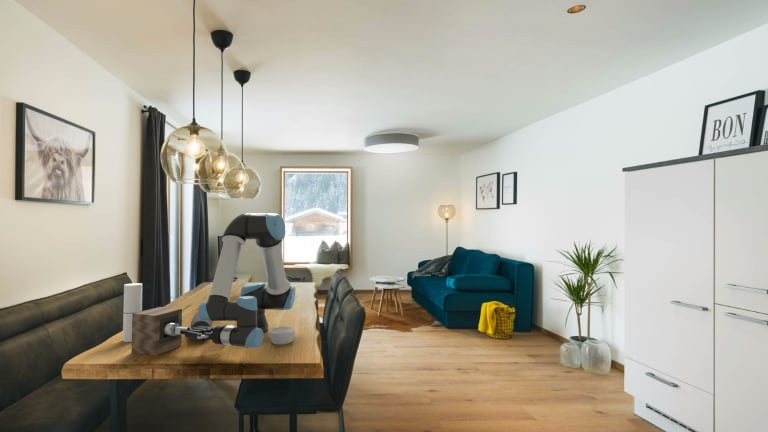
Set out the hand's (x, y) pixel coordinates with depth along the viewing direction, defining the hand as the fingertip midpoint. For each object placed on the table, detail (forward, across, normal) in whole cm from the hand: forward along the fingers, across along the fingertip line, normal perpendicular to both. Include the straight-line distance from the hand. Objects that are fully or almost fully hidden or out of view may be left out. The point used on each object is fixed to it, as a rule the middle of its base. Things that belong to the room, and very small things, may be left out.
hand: (176, 330), depth 171 cm
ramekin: (-34, +27, -9) cm, 44 cm away
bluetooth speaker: (+8, +24, -9) cm, 27 cm away
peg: (+6, 0, -2) cm, 7 cm away
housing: (+10, 0, -9) cm, 14 cm away
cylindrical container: (+32, +9, -9) cm, 35 cm away
